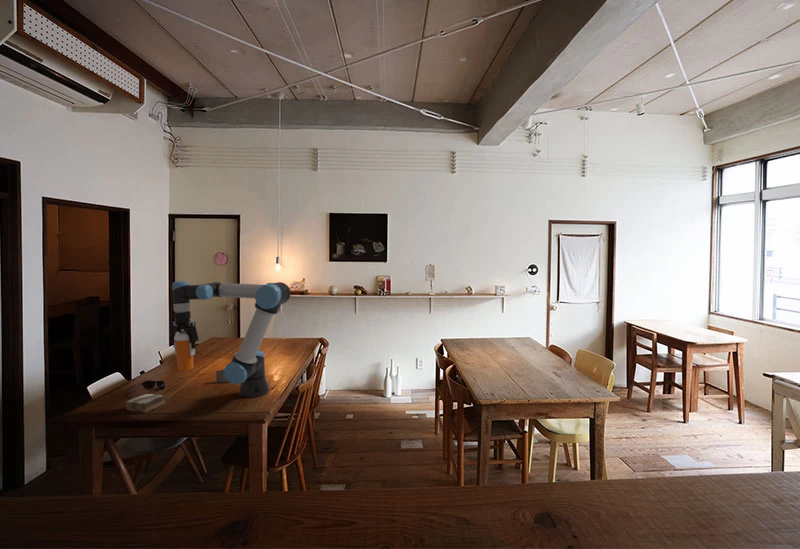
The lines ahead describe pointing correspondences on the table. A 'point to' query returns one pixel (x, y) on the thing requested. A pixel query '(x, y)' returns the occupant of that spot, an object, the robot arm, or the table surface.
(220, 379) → the dark angular channel piece
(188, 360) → the shaker bottle
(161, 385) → the sunglasses
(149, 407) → the block
